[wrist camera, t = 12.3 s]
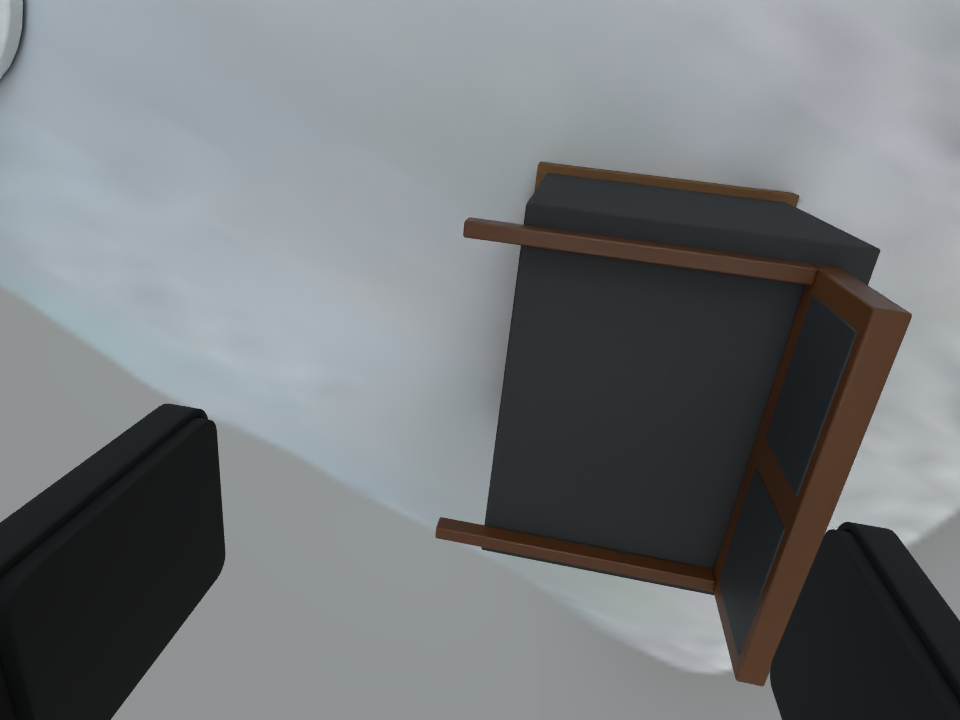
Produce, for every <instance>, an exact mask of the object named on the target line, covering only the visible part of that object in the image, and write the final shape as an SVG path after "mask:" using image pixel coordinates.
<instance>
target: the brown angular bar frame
mask: <svg viewBox="0 0 960 720" xmlns="http://www.w3.org/2000/svg"><path fill="white" fill-rule="evenodd" d="M463 236H464V237H466V238H473V239H480V240H488V241H495V242H502V243H509V244H516V245H524V246H531V247H538V248H545V249H552V250H560V251H567V252H574V253H581V254H588V255H596V256H603V257H610V258H617V259H625V260H632V261H639V262H646V263H653V264H661V265H668V266H675V267H682V268H689V269H697V270H704V271H711V272H718V273H725V274H733V275H740V276H747V277H754V278H761V279H769V280H776V281H783V282H790V283H798V284H805V288H804V291H803V294H802V297H801V300H800V303H799V306H798V309H797V312H796V316H795V319H794V322H793V325H792V328H791V331H790V334H789V337H788V340H787V344H786V347H785V350H784V353H783V356H782V359H781V362H780V365H779V368H778V372H777V375H776V378H775V381H774V384H773V387H772V390H771V393H770V396H769V400H768V403H767V406H766V409H765V412H764V415H763V418H762V421H761V424H760V428H759V431H758V434H757V437H756V440H755V443H754V446H753V449H752V452H751V456H750V459H749V462H748V465H747V468H746V471H745V474H744V477H743V480H742V484H741V487H740V490H739V493H738V496H737V499H736V502H735V505H734V508H733V512H732V515H731V518H730V521H729V524H728V527H727V530H726V533H725V536H724V540H723V543H722V546H721V549H720V552H719V555H718V558H717V561H716V564H715V568H714V571H713V570H712V569H709V568H704V567H698V566H693V565H688V564H683V563H677V562H672V561H667V560H662V559H657V558H651V557H646V556H641V555H636V554H630V553H625V552H620V551H615V550H610V549H604V548H599V547H594V546H589V545H583V544H578V543H573V542H568V541H563V540H557V539H552V538H547V537H542V536H536V535H531V534H526V533H521V532H516V531H510V530H505V529H500V528H495V527H489V526H484V525H479V524H474V523H469V522H463V521H458V520H453V519H448V518H442V517H440V519H439V522H438V524H437V527H436V538H439V539H444V540H449V541H454V542H459V543H465V544H470V545H475V546H480V547H485V548H490V549H495V550H500V551H506V552H511V553H516V554H521V555H526V556H531V557H536V558H541V559H546V560H552V561H557V562H562V563H567V564H572V565H577V566H582V567H587V568H592V569H598V570H603V571H608V572H613V573H618V574H623V575H628V576H633V577H638V578H644V579H649V580H654V581H659V582H664V583H669V584H674V585H679V586H685V587H690V588H695V589H700V590H705V591H710V592H713V591H714V595H715V599H716V603H717V607H718V611H719V615H720V619H721V623H722V626H723V630H724V634H725V638H726V642H727V646H728V650H729V654H730V658H731V662H732V666H733V670H734V674H735V678H736V680H737V681H740V682H744V683H749V684H754V685H759V686H764V684H765V682H766V679H767V677H768V674H769V672H770V669H771V663H772V660H773V657H774V655H775V652H776V650H777V647H778V645H779V643H780V640H781V638H782V635H783V633H784V631H785V628H786V626H787V623H788V621H789V619H790V616H791V614H792V611H793V609H794V606H795V604H796V602H797V599H798V597H799V594H800V592H801V590H802V587H803V585H804V582H805V580H806V578H807V575H808V573H809V570H810V568H811V566H812V563H813V561H814V558H815V556H816V553H817V551H818V549H819V546H820V544H821V541H822V539H823V537H824V535H825V532H826V530H827V527H828V525H829V522H830V520H831V517H832V515H833V512H834V510H835V507H836V505H837V502H838V500H839V497H840V495H841V492H842V490H843V487H844V485H845V482H846V480H847V477H848V475H849V472H850V470H851V467H852V465H853V462H854V460H855V457H856V455H857V452H858V450H859V447H860V445H861V442H862V440H863V437H864V435H865V432H866V430H867V427H868V425H869V422H870V420H871V417H872V415H873V412H874V410H875V407H876V405H877V402H878V400H879V397H880V395H881V392H882V390H883V387H884V385H885V382H886V380H887V377H888V375H889V372H890V370H891V367H892V365H893V362H894V360H895V357H896V355H897V352H898V350H899V347H900V345H901V342H902V340H903V337H904V335H905V332H906V330H907V327H908V325H909V322H910V320H911V317H912V314H911V313H909V312H908V311H906V310H905V309H903V308H902V307H900V306H899V305H897V304H895V303H894V302H892V301H891V300H889V299H888V298H886V297H885V296H883V295H882V294H880V293H878V292H877V291H875V290H874V289H872V288H871V287H869V286H868V285H866V284H865V283H863V282H862V281H860V280H858V279H857V278H855V277H854V276H852V275H851V274H849V273H848V272H846V271H845V270H843V269H842V268H840V267H832V266H825V265H817V264H814V265H812V264H810V263H803V262H796V261H788V260H781V259H774V258H766V257H759V256H751V255H744V254H737V253H729V252H722V251H714V250H707V249H700V248H692V247H685V246H677V245H670V244H662V243H655V242H648V241H640V240H633V239H625V238H618V237H611V236H603V235H596V234H588V233H581V232H574V231H566V230H559V229H551V228H544V227H536V226H529V225H522V224H514V223H507V222H499V221H492V220H485V219H477V218H468V219H467V220H466V221H465V222H464V232H463Z"/></svg>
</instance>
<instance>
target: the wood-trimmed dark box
mask: <svg viewBox="0 0 960 720" xmlns="http://www.w3.org/2000/svg"><path fill="white" fill-rule="evenodd" d="M798 199H799V195H796V194H794V193H789V192H781V191H773V190H765V189H756V188H748V187H740V186H732V185H724V184H716V183H708V182H700V181H692V180H684V179H676V178H667V177H659V176H651V175H643V174H635V173H627V172H619V171H611V170H603V169H595V168H586V167H578V166H570V165H562V164H554V163H546V162H540V163H539V164H538V170H537V178H536V185H535V192H534V194H533V195H532V197H531V198H530V200H529V201H528V203H527V204H526V211H525V219H524V225H529V226H536V227H544V228H551V229H559V230H566V231H574V232H581V233H588V234H596V235H603V236H611V237H618V238H625V239H633V240H640V241H648V242H655V243H662V244H670V245H677V246H685V247H692V248H700V249H707V250H714V251H722V252H729V253H737V254H744V255H751V256H759V257H766V258H774V259H781V260H788V261H796V262H803V263H810V264H812V265H814V264H817V265H825V266H832V267H840V268H842V269H843V270H845V271H846V272H848V273H849V274H851V275H852V276H854V277H855V278H857V279H858V280H860V281H862V282H863V283H865V284H866V285H868V283H869V280H870V277H871V275H872V272H873V269H874V266H875V264H876V261H877V258H878V255H879V253H880V249H878V248H876V247H874V246H872V245H870V244H868V243H866V242H864V241H862V240H860V239H858V238H856V237H854V236H852V235H850V234H848V233H846V232H844V231H842V230H840V229H838V228H836V227H834V226H832V225H830V224H828V223H826V222H824V221H822V220H820V219H818V218H816V217H814V216H812V215H810V214H808V213H806V212H804V211H802V210H800V209H798V208H796V206H797V202H798ZM804 288H805V284H798V283H790V282H783V281H776V280H769V279H761V278H754V277H747V276H740V275H733V274H725V273H718V272H711V271H704V270H697V269H689V268H682V267H675V266H668V265H661V264H653V263H646V262H639V261H632V260H625V259H617V258H610V257H603V256H596V255H588V254H581V253H574V252H567V251H560V250H552V249H545V248H538V247H531V246H524V245H521V250H520V257H519V265H518V273H517V280H516V288H515V296H514V303H513V311H512V318H511V326H510V334H509V341H508V349H507V357H506V364H505V372H504V380H503V387H502V395H501V403H500V410H499V418H498V426H497V433H496V441H495V449H494V456H493V464H492V472H491V479H490V487H489V495H488V502H487V510H486V518H485V525H484V526H489V527H495V528H500V529H505V530H510V531H516V532H521V533H526V534H531V535H536V536H542V537H547V538H552V539H557V540H563V541H568V542H573V543H578V544H583V545H589V546H594V547H599V548H604V549H610V550H615V551H620V552H625V553H630V554H636V555H641V556H646V557H651V558H657V559H662V560H667V561H672V562H677V563H683V564H688V565H693V566H698V567H704V568H709V569H712V570H713V571H714V568H715V564H716V561H717V558H718V555H719V552H720V549H721V546H722V543H723V540H724V536H725V533H726V530H727V527H728V524H729V521H730V518H731V515H732V512H733V508H734V505H735V502H736V499H737V496H738V493H739V490H740V487H741V484H742V480H743V477H744V474H745V471H746V468H747V465H748V462H749V459H750V456H751V452H752V449H753V446H754V443H755V440H756V437H757V434H758V431H759V428H760V424H761V421H762V418H763V415H764V412H765V409H766V406H767V403H768V400H769V396H770V393H771V390H772V387H773V384H774V381H775V378H776V375H777V372H778V368H779V365H780V362H781V359H782V356H783V353H784V350H785V347H786V344H787V340H788V337H789V334H790V331H791V328H792V325H793V322H794V319H795V316H796V312H797V309H798V306H799V303H800V300H801V297H802V294H803V291H804ZM482 549H483V550H487V551H492V552H497V553H502V554H507V555H512V556H517V557H522V558H527V559H532V560H538V561H543V562H548V563H553V564H558V565H563V566H568V567H573V568H578V569H583V570H588V571H594V572H599V573H604V574H609V575H614V576H619V577H624V578H629V579H634V580H639V581H644V582H650V583H655V584H660V585H665V586H670V587H675V588H680V589H685V590H690V591H695V592H700V593H706V594H711V595H714V591H713V592H710V591H705V590H700V589H695V588H690V587H685V586H679V585H674V584H669V583H664V582H659V581H654V580H649V579H644V578H638V577H633V576H628V575H623V574H618V573H613V572H608V571H603V570H598V569H592V568H587V567H582V566H577V565H572V564H567V563H562V562H557V561H552V560H546V559H541V558H536V557H531V556H526V555H521V554H516V553H511V552H506V551H500V550H495V549H490V548H485V547H482Z"/></svg>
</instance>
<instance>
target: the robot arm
mask: <svg viewBox="0 0 960 720" xmlns="http://www.w3.org/2000/svg"><path fill="white" fill-rule="evenodd" d="M22 16H23V1H22V0H0V79H1V77H2V76H3V75H4V73H5V72H6V71H7V69H8V68H9V67H10V65H11V63H12V61H13V58H14V56H15V54H16V51H17V49H18V45H19V40H20V36H21V31H22ZM224 561H225V543H224V528H223V513H222V499H221V485H220V471H219V456H218V442H217V430H216V425H215V423H214V422H213V421H212V420H208V417H207V415H206V413H205V412H204V411H203V410H202V409H197V408H191V407H185V406H180V405H174V404H163V405H161V406H159V407H158V408H157V409H155V410H154V411H152V412H151V413H150V414H148V415H147V416H146V417H145V418H143V419H142V420H140V421H139V422H137V423H136V424H135V425H133V426H132V427H131V428H129V429H128V430H126V431H125V432H124V433H122V434H121V435H120V436H118V437H117V438H116V439H114V440H113V441H111V442H110V443H109V444H108V445H106V446H105V447H103V448H102V449H100V450H99V451H98V452H96V453H95V454H94V455H92V456H91V457H90V458H88V459H87V460H85V461H84V462H83V463H81V464H80V465H79V466H77V467H76V468H74V469H73V470H72V471H70V472H69V473H68V474H66V475H65V476H63V477H62V478H61V479H60V480H58V481H57V482H55V483H54V484H53V485H51V486H50V487H48V488H47V489H46V490H44V491H43V492H42V493H40V494H39V495H37V496H36V497H35V498H33V499H32V500H31V501H29V502H28V503H27V504H25V505H24V506H22V507H21V508H20V509H18V510H17V511H16V512H14V513H13V514H11V515H10V516H9V517H8V518H6V519H5V520H3V521H2V522H1V523H0V720H111V718H112V717H113V716H114V714H115V713H116V712H117V710H118V709H119V708H120V706H121V705H122V704H123V703H124V701H125V700H126V698H127V697H128V696H129V695H130V693H131V692H132V691H133V689H134V688H135V687H136V685H137V684H138V683H139V681H140V680H141V679H142V677H143V676H144V675H145V673H146V672H147V671H148V669H149V668H150V667H151V665H152V664H153V663H154V661H155V660H156V659H157V657H158V656H159V655H160V653H161V652H162V651H163V650H164V648H165V647H166V646H167V644H168V643H169V642H170V640H171V639H172V638H173V636H174V635H175V633H176V632H177V631H178V630H179V628H180V627H181V626H182V624H183V623H184V622H185V620H186V619H187V618H188V616H189V615H190V614H191V612H192V611H193V610H194V608H195V607H196V606H197V604H198V603H199V602H200V601H201V599H202V598H203V596H204V595H205V594H206V593H207V591H208V590H209V589H210V587H211V586H212V585H213V583H214V582H215V580H216V579H217V578H218V576H219V574H220V573H221V570H222V567H223V565H224ZM770 680H771V686H772V690H773V693H774V696H775V699H776V702H777V705H778V708H779V711H780V714H781V718H782V720H960V621H959V619H958V618H957V617H956V615H955V614H954V613H953V611H952V610H951V609H950V607H949V606H948V605H947V603H946V602H945V600H944V599H943V598H942V597H941V595H940V594H939V592H938V591H937V590H936V588H935V587H934V586H933V584H932V583H931V581H930V580H929V579H928V577H927V576H926V574H925V573H924V572H923V571H922V569H921V568H920V566H919V565H918V564H917V562H916V561H915V560H914V558H913V557H912V556H911V554H910V553H909V551H908V550H907V549H906V547H905V546H904V545H903V543H902V542H901V540H900V539H899V538H898V536H897V535H896V534H895V533H894V532H893V531H892V530H889V529H886V528H880V527H875V526H869V525H863V524H857V523H852V522H845V523H843V524H841V525H840V526H839V527H838V529H837V530H833V529H832V530H828V531H827V532H826V533H825V535H824V537H823V539H822V541H821V544H820V546H819V549H818V551H817V553H816V556H815V558H814V561H813V563H812V566H811V568H810V570H809V573H808V575H807V578H806V580H805V582H804V585H803V587H802V590H801V592H800V594H799V597H798V599H797V602H796V604H795V606H794V609H793V611H792V614H791V616H790V619H789V621H788V623H787V626H786V628H785V631H784V633H783V635H782V638H781V640H780V643H779V645H778V647H777V650H776V652H775V655H774V657H773V660H772V663H771V669H770Z"/></svg>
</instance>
